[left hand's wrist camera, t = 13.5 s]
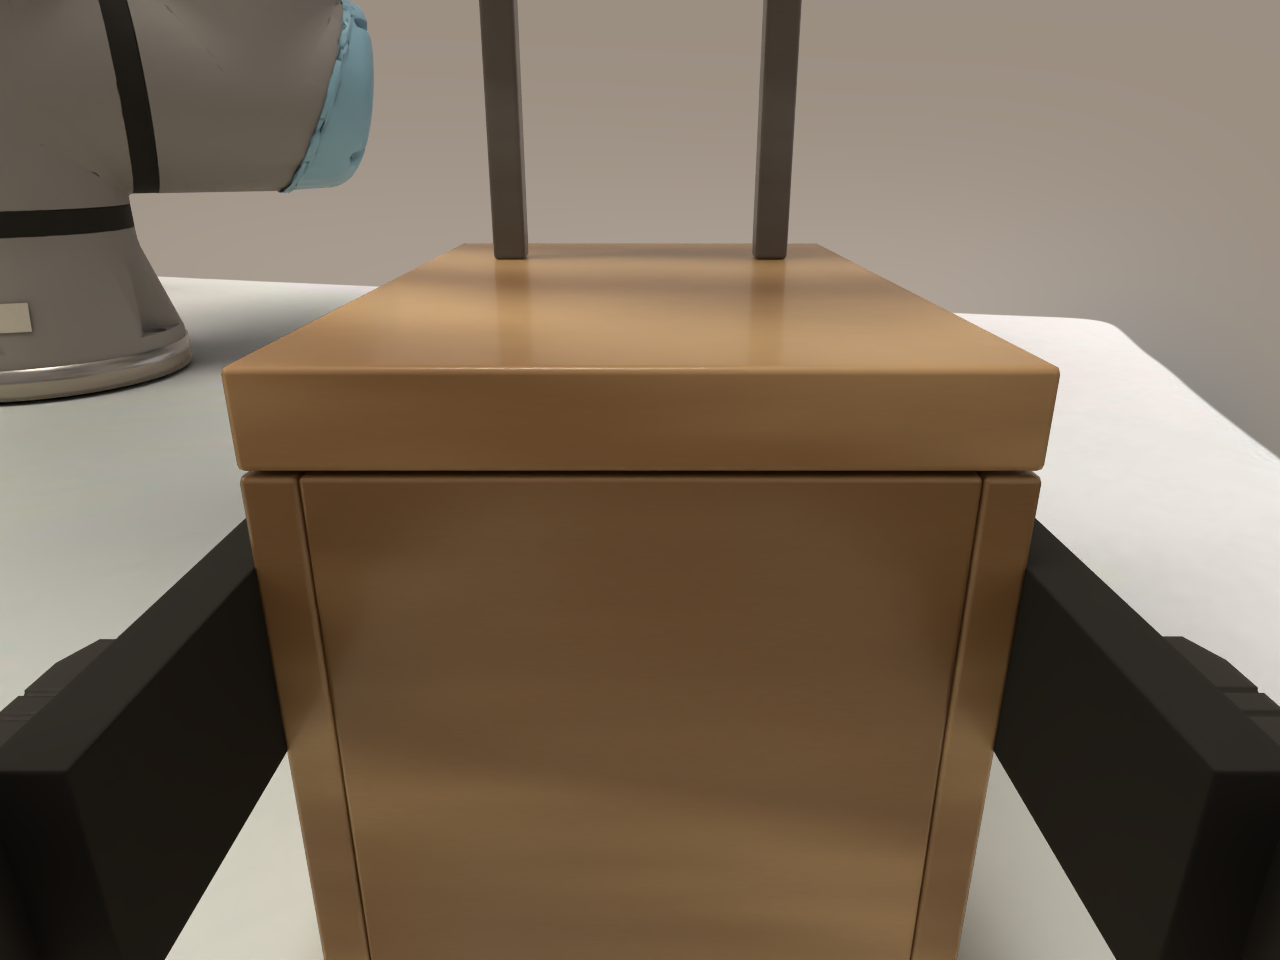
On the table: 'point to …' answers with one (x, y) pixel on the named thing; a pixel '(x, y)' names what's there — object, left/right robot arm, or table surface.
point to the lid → (640, 345)
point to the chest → (640, 705)
